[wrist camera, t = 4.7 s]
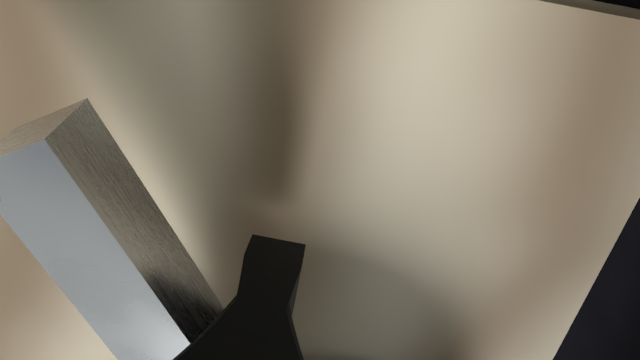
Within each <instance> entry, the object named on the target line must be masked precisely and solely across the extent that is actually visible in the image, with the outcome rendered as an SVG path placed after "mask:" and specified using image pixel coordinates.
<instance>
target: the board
mask: <svg viewBox="0 0 640 360" xmlns="http://www.w3.org/2000/svg"><path fill="white" fill-rule="evenodd" d="M86 98H88V100H89V101H90V103H91V105H92V106H93V108H94V109H95V111H96V112H97V114H98V115H99V117H100V118H101V120H102V121H103V123H104V124H105V126H106V128H107V129H108V131H109V132H110V134H111V135H112V137H113V138H114V140H115V141H116V143H117V144H118V146H119V147H120V149H121V151H122V152H123V154H124V155H125V157H126V158H127V160H128V161H129V163H130V164H131V166H132V167H133V169H134V170H135V172H136V174H137V175H138V177H139V178H140V180H141V181H142V183H143V184H144V186H145V187H146V189H147V190H148V192H149V194H150V195H151V197H152V198H153V200H154V201H155V203H156V204H157V206H158V207H159V209H160V210H161V212H162V213H163V215H164V217H165V218H166V220H167V221H168V223H169V224H170V226H171V227H172V229H173V230H174V232H175V233H176V235H177V236H178V238H179V240H180V241H181V243H182V244H183V246H184V247H185V249H186V250H187V252H188V253H189V255H190V256H191V258H192V259H193V261H194V263H195V264H196V266H197V267H198V269H199V270H200V272H201V273H202V275H203V276H204V278H205V279H206V281H207V282H208V284H209V286H210V287H211V289H212V290H213V292H214V293H215V295H216V296H217V298H218V299H219V301H220V302H221V304H222V306H223V307H224V309H225V307H226V306H227V305H228V304H229V303H230V302H231V301H232V300H233V298H234V297H235V296H236V295H237V292H238V286H239V280H240V275H241V269H242V264H243V258H244V254H245V251H246V249H247V246H248V243H249V241H250V239H251V237H252V234H254V235H259V236H264V237H270V238H275V239H280V240H285V241H291V242H296V243H301V244H306V246H305V252H304V258H303V263H302V269H301V274H300V279H299V284H298V289H297V294H296V299H295V304H294V309H293V314H292V319H293V324H294V328H295V331H296V335H297V338H298V342H299V346H300V349H301V352H302V355H303V358H304V360H553V358H554V356H555V354H556V352H557V350H558V349H559V347H560V345H561V343H562V341H563V339H564V337H565V335H566V334H567V332H568V330H569V328H570V326H571V324H572V322H573V321H574V319H575V317H576V315H577V313H578V311H579V309H580V308H581V306H582V304H583V302H584V300H585V298H586V296H587V294H588V293H589V291H590V289H591V287H592V285H593V283H594V281H595V280H596V278H597V276H598V274H599V272H600V270H601V268H602V267H603V265H604V263H605V261H606V259H607V257H608V255H609V253H610V252H611V250H612V248H613V246H614V244H615V242H616V240H617V239H618V237H619V235H620V233H621V231H622V229H623V227H624V225H625V224H626V222H627V220H628V218H629V216H630V214H631V212H632V211H633V209H634V207H635V205H636V203H637V201H638V199H639V198H640V9H635V8H630V7H625V6H620V5H614V4H609V3H604V2H599V1H594V0H0V141H1V140H2V139H3V138H4V137H5V136H7V135H8V134H9V133H10V132H11V131H12V130H14V129H15V128H16V127H18V126H21V125H23V124H25V123H28V122H30V121H33V120H35V119H38V118H40V117H42V116H45V115H47V114H50V113H52V112H55V111H57V110H59V109H62V108H64V107H67V106H69V105H72V104H74V103H77V102H79V101H81V100H84V99H86ZM0 360H117V358H116V357H115V356H114V355H113V353H112V352H111V351H110V350H109V348H108V347H107V346H106V345H105V344H104V342H103V341H102V340H101V339H100V337H99V336H98V335H97V334H96V332H95V331H94V330H93V329H92V327H91V326H90V325H89V324H88V322H87V321H86V320H85V319H84V318H83V316H82V315H81V314H80V313H79V311H78V310H77V309H76V308H75V306H74V305H73V304H72V303H71V301H70V300H69V299H68V298H67V297H66V295H65V294H64V293H63V292H62V290H61V289H60V288H59V287H58V285H57V284H56V283H55V282H54V280H53V279H52V278H51V277H50V275H49V274H48V273H47V272H46V271H45V269H44V268H43V267H42V266H41V264H40V263H39V262H38V261H37V259H36V258H35V257H34V256H33V254H32V253H31V252H30V251H29V249H28V248H27V247H26V246H25V245H24V243H23V242H22V241H21V240H20V238H19V237H18V236H17V235H16V233H15V232H14V231H13V230H12V228H11V227H10V226H9V225H8V223H7V222H6V221H5V220H4V219H3V217H2V216H1V215H0Z"/></svg>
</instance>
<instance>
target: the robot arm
mask: <svg viewBox="0 0 640 360" xmlns="http://www.w3.org/2000/svg"><path fill="white" fill-rule="evenodd" d="M305 246H306V244H301V243H296V242H291V241H285V240H280V239H275V238H270V237H264V236H259V235H254V234H252V237H251V239H250V241H249V243H248V246H247V249H246V251H245V254H244V258H243V264H242V269H241V275H240V280H239V286H238V292H237V295H236V296H235V297H234V298H233V300H232V301H231V302H230V303H229V304H228V305H227V306H226V307H225V309H224V310H223V311H222V312H221V313H220V314H219V315H218V316H217V317H216V318H215V319H214V321H213V322H212V323H211V324H210V325H209V326H208V327H207V328H206V329H205V330H204V331H203V332H202V333H201V334H200V335H199V336H198V337H197V338H196V339H195V340H194V341H193V342H192V343H191V344H189V345H188V346H187V347H186V348H185V349H184V350H183V351H182V352H181V353H179V354H178V355H177V356H176V357H175V358H174V359H172V360H304V358H303V355H302V352H301V349H300V346H299V342H298V338H297V335H296V331H295V328H294V324H293V319H292V314H293V309H294V304H295V299H296V294H297V289H298V284H299V279H300V274H301V269H302V263H303V258H304V252H305Z"/></svg>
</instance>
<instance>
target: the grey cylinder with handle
mask: <svg viewBox="0 0 640 360" xmlns="http://www.w3.org/2000/svg"><path fill="white" fill-rule="evenodd" d="M0 215H1V216H2V217H3V219H4V220H5V221H6V222H7V223H8V225H9V226H10V227H11V228H12V230H13V231H14V232H15V233H16V235H17V236H18V237H19V238H20V240H21V241H22V242H23V243H24V245H25V246H26V247H27V248H28V249H29V251H30V252H31V253H32V254H33V256H34V257H35V258H36V259H37V261H38V262H39V263H40V264H41V266H42V267H43V268H44V269H45V271H46V272H47V273H48V274H49V275H50V277H51V278H52V279H53V280H54V282H55V283H56V284H57V285H58V287H59V288H60V289H61V290H62V292H63V293H64V294H65V295H66V297H67V298H68V299H69V300H70V301H71V303H72V304H73V305H74V306H75V308H76V309H77V310H78V311H79V313H80V314H81V315H82V316H83V318H84V319H85V320H86V321H87V322H88V324H89V325H90V326H91V327H92V329H93V330H94V331H95V332H96V334H97V335H98V336H99V337H100V339H101V340H102V341H103V342H104V344H105V345H106V346H107V347H108V348H109V350H110V351H111V352H112V353H113V355H114V356H115V357H116V358H117V360H172V359H174V358H175V357H176V356H177V355H178V354H179V353H181V352H182V351H183V350H184V349H185V348H186V347H187V346H188V345H189V344H191V343H192V342H193V341H194V340H195V339H196V338H197V337H198V336H199V335H200V334H201V333H202V332H203V331H204V330H205V329H206V328H207V327H208V326H209V325H210V324H211V323H212V322H213V321H214V319H215V318H216V317H217V316H218V315H219V314H220V313H221V312H222V311H223V310H224V307H223V306H222V304H221V302H220V301H219V299H218V298H217V296H216V295H215V293H214V292H213V290H212V289H211V287H210V286H209V284H208V282H207V281H206V279H205V278H204V276H203V275H202V273H201V272H200V270H199V269H198V267H197V266H196V264H195V263H194V261H193V259H192V258H191V256H190V255H189V253H188V252H187V250H186V249H185V247H184V246H183V244H182V243H181V241H180V240H179V238H178V236H177V235H176V233H175V232H174V230H173V229H172V227H171V226H170V224H169V223H168V221H167V220H166V218H165V217H164V215H163V213H162V212H161V210H160V209H159V207H158V206H157V204H156V203H155V201H154V200H153V198H152V197H151V195H150V194H149V192H148V190H147V189H146V187H145V186H144V184H143V183H142V181H141V180H140V178H139V177H138V175H137V174H136V172H135V170H134V169H133V167H132V166H131V164H130V163H129V161H128V160H127V158H126V157H125V155H124V154H123V152H122V151H121V149H120V147H119V146H118V144H117V143H116V141H115V140H114V138H113V137H112V135H111V134H110V132H109V131H108V129H107V128H106V126H105V124H104V123H103V121H102V120H101V118H100V117H99V115H98V114H97V112H96V111H95V109H94V108H93V106H92V105H91V103H90V101H89V100H88V98H86V99H84V100H81V101H79V102H77V103H74V104H72V105H69V106H67V107H64V108H62V109H59V110H57V111H55V112H52V113H50V114H47V115H45V116H42V117H40V118H38V119H35V120H33V121H30V122H28V123H25V124H23V125H21V126H18V127H16V128H15V129H14V130H12V131H11V132H10V133H9V134H8V135H7V136H5V137H4V138H3V139H2V140H1V141H0Z"/></svg>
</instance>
